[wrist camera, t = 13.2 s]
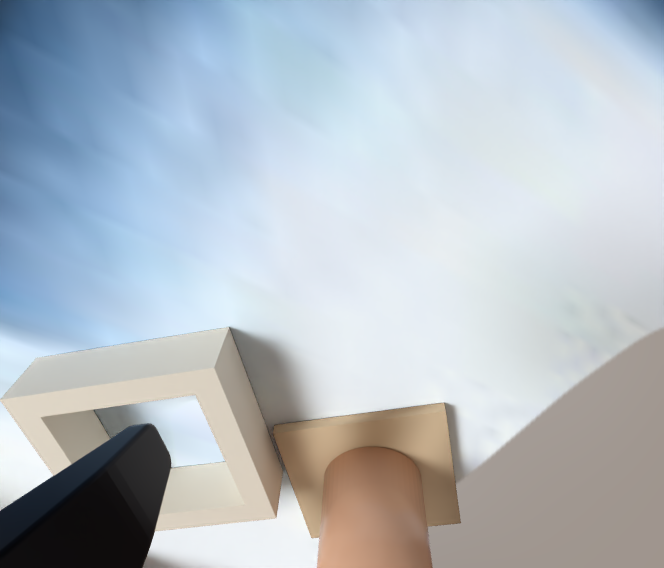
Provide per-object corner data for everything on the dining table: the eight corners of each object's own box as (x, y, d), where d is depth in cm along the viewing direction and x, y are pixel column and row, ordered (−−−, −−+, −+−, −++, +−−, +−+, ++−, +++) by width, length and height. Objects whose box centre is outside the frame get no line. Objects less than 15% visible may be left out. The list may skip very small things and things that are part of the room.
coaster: (443, 402, 26) (446, 411, 25) (458, 514, 30) (460, 523, 29) (274, 425, 27) (272, 433, 26) (312, 529, 31) (311, 538, 31)
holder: (229, 326, 24) (213, 367, 21) (283, 470, 29) (276, 518, 26) (36, 357, 25) (0, 399, 22) (119, 490, 30) (97, 537, 27)
